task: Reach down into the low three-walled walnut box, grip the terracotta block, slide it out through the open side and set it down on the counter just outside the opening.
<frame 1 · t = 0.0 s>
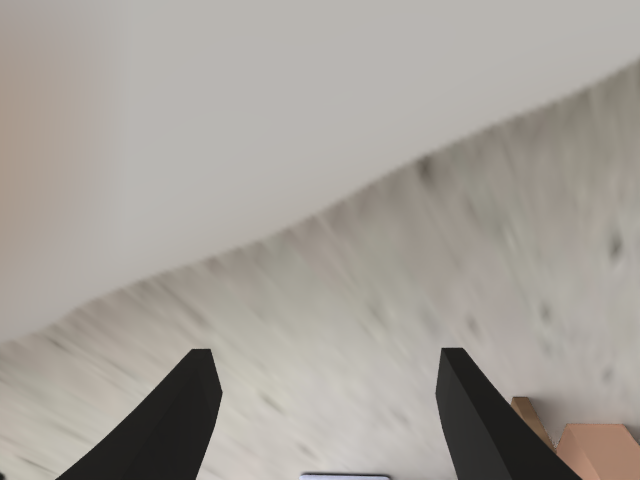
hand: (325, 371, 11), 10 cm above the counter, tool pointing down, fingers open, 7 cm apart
open-sided box: (587, 441, 28), on the counter
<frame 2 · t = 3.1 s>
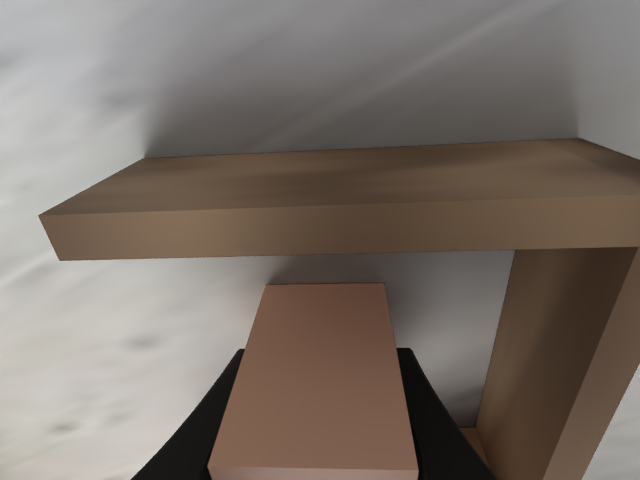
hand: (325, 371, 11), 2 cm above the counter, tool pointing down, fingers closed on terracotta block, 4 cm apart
terracotta block: (323, 401, 10), in the open-sided box, touching gripper
open-sided box: (327, 329, 13), on the counter
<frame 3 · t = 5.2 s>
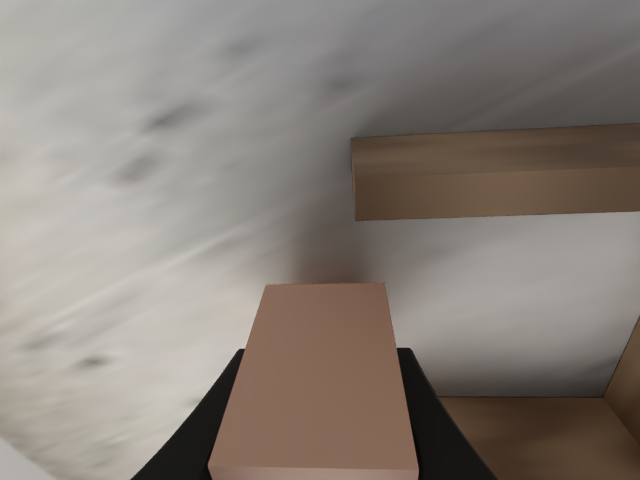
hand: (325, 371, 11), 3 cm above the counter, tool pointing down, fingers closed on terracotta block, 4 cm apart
terracotta block: (323, 400, 10), point 4 cm above the counter, touching gripper
open-sided box: (483, 301, 14), on the counter
when the fingers open (3 cm above the counter, at t = 7.1 s): terracotta block drops 1 cm, on the counter.
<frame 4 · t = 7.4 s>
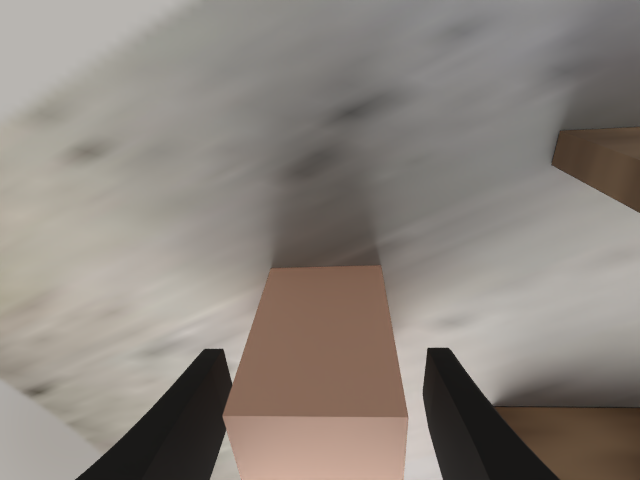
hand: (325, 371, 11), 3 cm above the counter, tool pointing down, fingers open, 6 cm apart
terracotta block: (324, 371, 11), on the counter
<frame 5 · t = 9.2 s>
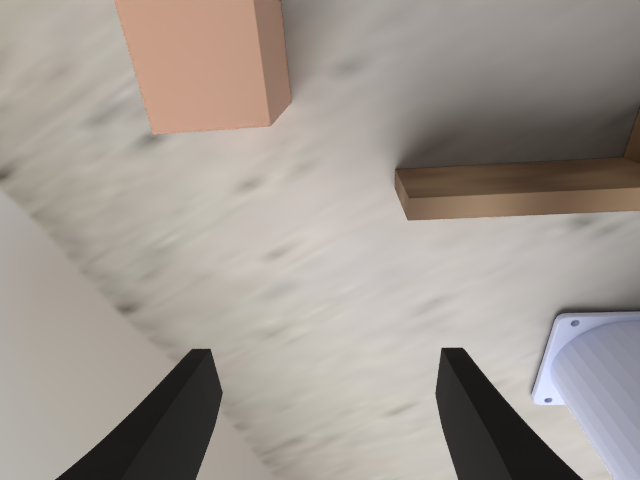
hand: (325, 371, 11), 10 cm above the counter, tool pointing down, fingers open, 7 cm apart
terracotta block: (224, 60, 13), on the counter
open-sided box: (517, 38, 15), on the counter
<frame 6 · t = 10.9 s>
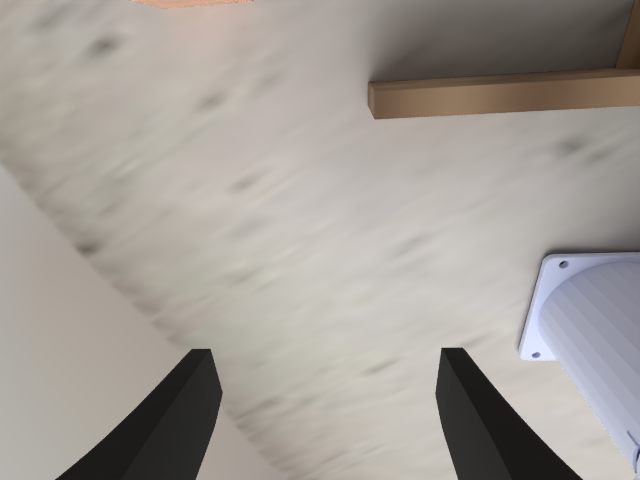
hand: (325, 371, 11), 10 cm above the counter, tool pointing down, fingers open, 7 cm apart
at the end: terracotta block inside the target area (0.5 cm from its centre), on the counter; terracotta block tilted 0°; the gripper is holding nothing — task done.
